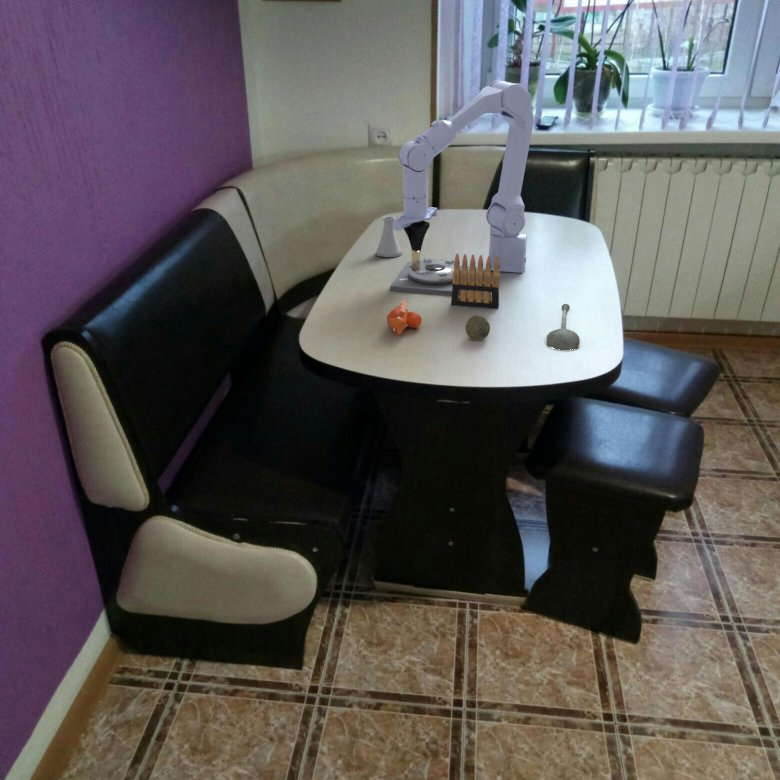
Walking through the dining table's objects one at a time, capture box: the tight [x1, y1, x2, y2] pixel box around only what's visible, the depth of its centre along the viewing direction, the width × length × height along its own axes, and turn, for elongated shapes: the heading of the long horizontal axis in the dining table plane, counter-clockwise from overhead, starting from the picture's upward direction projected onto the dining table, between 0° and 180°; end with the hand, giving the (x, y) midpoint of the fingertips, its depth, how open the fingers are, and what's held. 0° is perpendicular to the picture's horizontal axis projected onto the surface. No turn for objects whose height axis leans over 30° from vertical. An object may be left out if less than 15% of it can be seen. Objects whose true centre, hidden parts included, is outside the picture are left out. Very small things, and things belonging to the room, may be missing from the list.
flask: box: [375, 215, 403, 258], centre depth 194 cm, size 7×7×10 cm
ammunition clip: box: [450, 253, 501, 310], centre depth 161 cm, size 11×2×12 cm, turn 76°
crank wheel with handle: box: [409, 249, 462, 285], centre depth 177 cm, size 13×13×7 cm
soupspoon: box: [546, 303, 581, 351], centre depth 152 cm, size 22×3×7 cm
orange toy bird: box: [386, 299, 423, 336], centre depth 154 cm, size 5×8×12 cm
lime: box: [464, 314, 491, 341], centre depth 148 cm, size 4×5×5 cm
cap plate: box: [389, 261, 478, 296], centre depth 179 cm, size 18×18×1 cm
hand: (416, 252), depth 176 cm, fingers closed
